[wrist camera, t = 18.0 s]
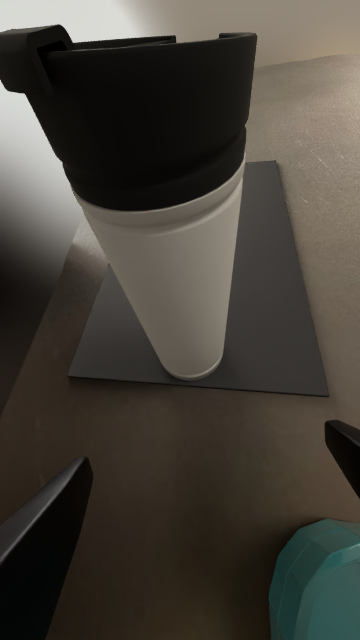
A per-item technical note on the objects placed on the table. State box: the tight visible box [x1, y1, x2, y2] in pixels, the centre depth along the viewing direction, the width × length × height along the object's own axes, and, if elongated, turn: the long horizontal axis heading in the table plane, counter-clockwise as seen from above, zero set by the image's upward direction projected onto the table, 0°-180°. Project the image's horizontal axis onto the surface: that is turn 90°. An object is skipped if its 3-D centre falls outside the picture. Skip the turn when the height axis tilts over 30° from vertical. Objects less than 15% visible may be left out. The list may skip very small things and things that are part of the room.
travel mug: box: [0, 24, 257, 381], centre depth 14 cm, size 6×7×20 cm
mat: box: [67, 160, 330, 397], centre depth 31 cm, size 40×24×1 cm, turn 174°
